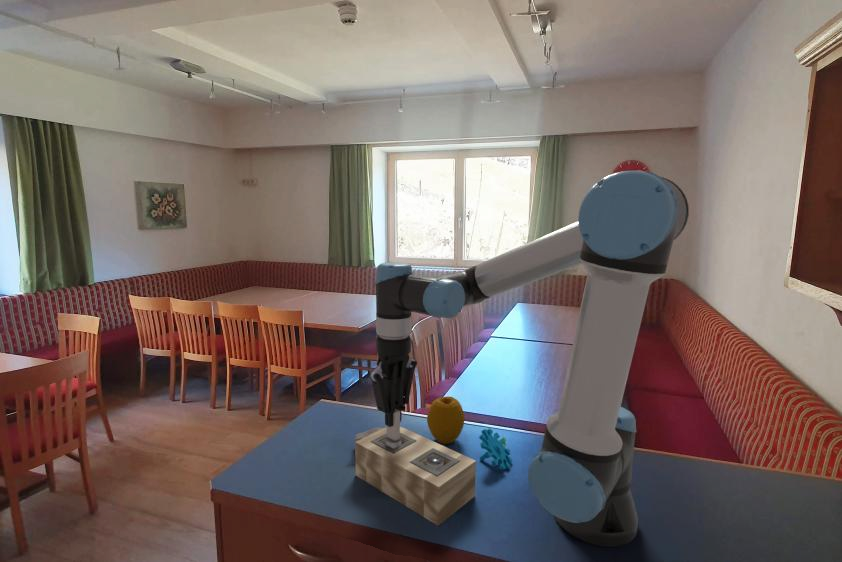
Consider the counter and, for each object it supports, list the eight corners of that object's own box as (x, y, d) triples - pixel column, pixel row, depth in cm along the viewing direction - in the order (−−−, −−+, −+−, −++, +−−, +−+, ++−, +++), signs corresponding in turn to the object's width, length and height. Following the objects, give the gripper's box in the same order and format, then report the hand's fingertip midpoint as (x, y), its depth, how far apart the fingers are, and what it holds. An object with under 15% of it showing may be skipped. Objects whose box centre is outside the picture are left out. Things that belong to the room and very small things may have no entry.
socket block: (474, 496, 93) (476, 460, 92) (438, 525, 84) (438, 486, 83) (393, 454, 109) (393, 422, 107) (355, 475, 100) (355, 441, 99)
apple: (445, 427, 123) (446, 386, 121) (472, 440, 115) (473, 397, 114) (419, 439, 116) (419, 396, 114) (445, 454, 109) (446, 409, 107)
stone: (393, 440, 115) (393, 419, 114) (395, 457, 107) (395, 435, 106) (355, 442, 114) (355, 421, 113) (354, 460, 106) (354, 437, 105)
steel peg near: (446, 493, 92) (447, 459, 91) (435, 501, 90) (436, 466, 89) (433, 485, 95) (433, 453, 94) (422, 493, 92) (422, 460, 91)
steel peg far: (404, 469, 100) (405, 438, 99) (393, 476, 98) (393, 444, 96) (393, 463, 103) (393, 433, 101) (382, 470, 100) (382, 439, 99)
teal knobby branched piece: (503, 473, 98) (477, 433, 102) (484, 485, 101) (459, 446, 104) (521, 457, 108) (496, 421, 111) (503, 469, 110) (479, 433, 113)
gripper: (402, 326, 103) (401, 422, 106) (358, 337, 93) (359, 442, 97) (426, 332, 98) (425, 432, 101) (383, 345, 88) (383, 455, 92)
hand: (393, 437), depth 99 cm, fingers closed
